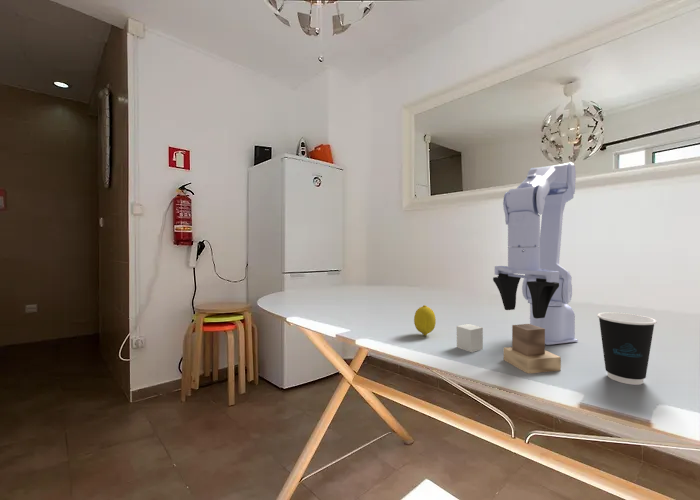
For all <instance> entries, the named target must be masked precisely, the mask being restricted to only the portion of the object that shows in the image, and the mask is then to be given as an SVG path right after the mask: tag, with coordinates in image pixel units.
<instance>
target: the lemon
mask: <svg viewBox="0 0 700 500" xmlns="http://www.w3.org/2000/svg"><path fill="white" fill-rule="evenodd" d="M436 323H437V321H436V315H435V311H434V310H432V308H430V307H429V306H427V305H426V304H424V305H423V306H420V307H419V308H417V309H416V311H415V313H414V318H413V324H414V326H415V329H416V330H417V331H418V332H419V333H421V334H422V335H423V336H427V335H428V334H430V333H432V332H433V331H434V329H435V328H436Z"/></svg>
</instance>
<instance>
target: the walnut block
mask: <svg viewBox="0 0 700 500" xmlns="http://www.w3.org/2000/svg"><path fill="white" fill-rule="evenodd" d="M511 326H512V327H511V328H512V330H511V331H512V332H511V333H512V337H511V338H512V340H511V345H512V346H511V347H512V350H515V351H517V352H519V353H521V354H524V355H526V356H534V355H543V354H545V351H546V344H545V329H544V328H541V327H538V326H534V325H531V324H530V323H522V324H512V325H511Z"/></svg>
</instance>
